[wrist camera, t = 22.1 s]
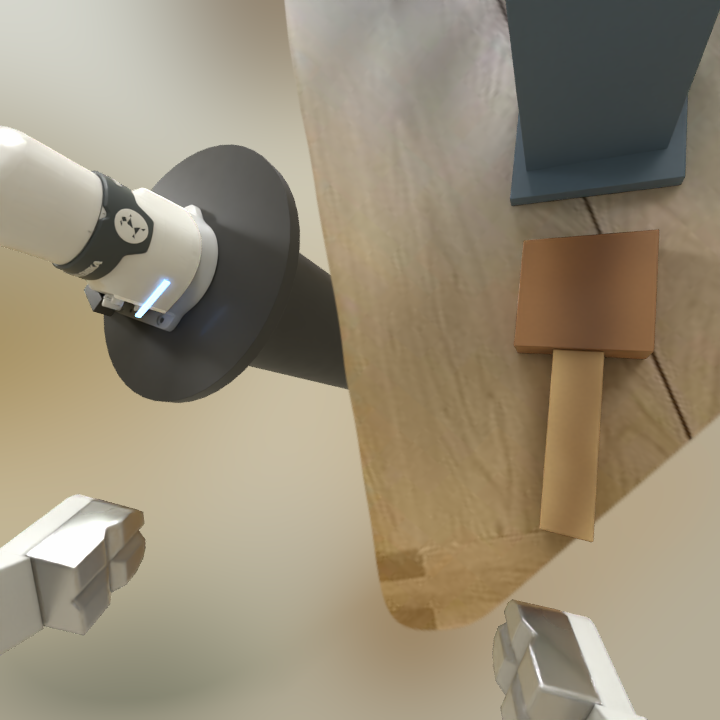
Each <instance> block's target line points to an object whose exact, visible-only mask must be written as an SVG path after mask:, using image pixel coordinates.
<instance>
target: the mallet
mask: <svg viewBox="0 0 720 720" xmlns="http://www.w3.org/2000/svg"><path fill="white" fill-rule="evenodd" d="M658 247H659V230H647V231H635V232H623V233H610V234H598V235H585V236H573V237H561V238H548V239H536V240H524V241H523V252H522V263H521V274H520V285H519V296H518V306H517V317H516V328H515V339H514V346H515V348H516V351H517V352H518V353H536V354H553V359H552V372H551V385H550V398H549V410H548V423H547V436H546V449H545V462H544V475H543V487H542V500H541V513H540V526H539V528H540V529H542V530H546V531H550V532H553V533H557V534H561V535H565V536H569V537H573V538H577V539H581V540H585V541H589V542H593V538H594V522H595V505H596V488H597V471H598V454H599V437H600V421H601V404H602V387H603V370H604V357H615V358H634V359H646V358H647V357H648V356H650V355H651V354H652V353H653V352H654V343H655V319H656V295H657V271H658Z"/></svg>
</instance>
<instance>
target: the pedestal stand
mask: <svg viewBox="0 0 720 720" xmlns="http://www.w3.org/2000/svg"><path fill="white" fill-rule="evenodd" d="M505 1H506V9H507V17H508V25H509V34H510V42H511V50H512V59H513V67H514V75H515V84H516V92H517V100H518V109H519V114H518V124H517V135H516V145H515V155H514V165H513V175H512V185H511V195H510V201H511V205H512V206H513V205H522V204H530V203H538V202H546V201H554V200H562V199H570V198H578V197H586V196H594V195H603V194H611V193H619V192H627V191H635V190H643V189H651V188H659V187H667V186H675V185H681V184H682V182H683V180H684V178H685V168H686V137H687V106H688V92H689V90H690V87H691V84H692V82H693V79H694V76H695V74H696V71H697V68H698V66H699V63H700V61H701V58H702V55H703V53H704V50H705V47H706V45H707V42H708V39H709V37H710V34H711V31H712V29H713V26H714V23H715V21H716V18H717V15H718V13H719V10H720V0H505Z"/></svg>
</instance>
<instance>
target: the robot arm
mask: <svg viewBox="0 0 720 720" xmlns="http://www.w3.org/2000/svg"><path fill="white" fill-rule="evenodd" d="M0 246H2V247H5V248H9V249H12V250H15V251H18V252H21V253H25V254H28V255H31V256H34V257H37V258H40V259H43V260H46V261H49V262H51V263H52V264H53V265H54V266H55V267H56V268H58V269H61V270H63V271H64V272H66V273H68V274H70V275H72V276H77V277H79V278H82V279H85V280H86V281H87V283H88V285H87V286H86V287H85V289H84V291H85V293H86V296H87V298H88V301H89V303H90V305H91V308H92V310H93V311H94V312H97V313H101V314H104V315H108V316H111V315H112V314H113V313H114V311H116V312H117V313H120V314H122V315H125V316H128V317H130V318H133V319H136V320H139V321H141V322H144V323H147V324H149V325H152V326H155V327H157V328H160V329H163V330H166V331H169V332H170V331H172V330H174V329H175V327H176V326H177V325H178V323H179V322H180V320H181V318H182V317H183V316H184V314H186V313H187V312H188V311H189V310H190V309H191V308H193V307H194V306H195V305H196V304H197V303H198V302H199V301H200V299H201V298H202V297H203V295H204V294H205V292H206V291H207V289H208V287H209V285H210V283H211V281H212V279H213V276H214V273H215V270H216V265H217V259H218V244H217V239H216V236H215V234H214V232H213V230H212V229H211V227H210V226H209V225H207V224H206V223H205V221H204V220H203V216H202V213H201V210H200V209H199V208H198V207H196V206H194V205H189V206H187V207H185V208H182V207H180V206H179V205H177V204H175V203H173V202H171V201H169V200H167V199H165V198H163V197H161V196H159V195H158V194H156V193H154V192H152V191H150V190H147V189H145V188H140V189H136V190H133V191H131V190H130V189H128V188H127V187H125V186H124V185H122V184H120V183H119V182H118V181H117V180H115V179H113V178H111V177H109V176H106V175H104V174H102V173H99V172H98V171H89V170H88V169H86V168H84V167H82V166H80V165H79V164H77V163H75V162H74V161H72V160H70V159H68V158H66V157H65V156H63V155H61V154H60V153H58V152H56V151H54V150H53V149H51V148H49V147H47V146H46V145H44V144H42V143H40V142H38V141H37V140H35V139H33V138H32V137H30V136H28V135H26V134H25V133H23V132H21V131H18V130H16V129H13V128H9V127H5V126H0ZM143 525H144V516H143V512H142V511H139V510H137V509H133V508H129V507H125V506H122V505H118V504H114V503H111V502H107V501H104V500H100V499H95V498H91V497H88V496H84V495H80V494H77V495H74V496H70V497H68V498H67V499H66V500H64V501H63V502H61V503H60V504H59V505H58V506H56V507H55V508H53V509H52V510H51V511H49V512H48V513H47V514H46V515H44V516H43V517H41V518H40V519H39V520H37V521H36V522H35V523H33V524H32V525H31V526H30V527H28V528H27V529H25V530H24V531H23V532H21V533H20V534H19V535H17V536H16V537H15V538H14V539H12V540H11V541H9V542H8V543H7V544H5V545H4V546H3V547H1V548H0V656H1V655H2V654H4V653H5V652H7V651H9V650H10V649H12V648H13V647H15V646H17V645H18V644H20V643H21V642H23V641H25V640H26V639H28V638H30V637H31V636H33V635H34V634H36V633H37V632H39V631H41V630H42V629H43V626H46V627H50V628H54V629H58V630H63V631H67V632H71V633H75V634H79V635H85V634H86V633H87V631H88V630H89V629H90V628H91V627H92V625H93V624H94V623H95V622H96V621H97V619H98V618H99V617H100V616H101V615H102V613H103V612H104V611H105V609H107V607H108V606H109V605H110V601H111V593H112V592H114V591H115V590H117V589H119V588H121V587H123V586H125V585H126V584H127V583H128V582H129V581H130V579H131V578H132V577H133V576H134V574H135V573H136V571H137V570H138V567H139V566H140V564H141V562H142V560H143V557H144V552H145V538H144V537H143V536H142V534H141V533H140V531H139V529H140V528H141V527H142V526H143ZM504 614H505V618H506V623H504V624H502V625H500V626H498V628H497V631H496V634H495V637H494V643H493V667H494V673H495V679H496V682H497V684H498V685H499V687H500V688H501V689H502V691H503V692H504V694H505V695H506V696H505V699H504V701H503V703H502V706H501V714H502V719H503V720H647V718H645V717H642V716H638V715H636V712H635V710H634V708H633V706H632V704H631V702H630V699H629V697H628V695H627V693H626V691H625V689H624V687H623V684H622V682H621V680H620V678H619V676H618V674H617V671H616V669H615V667H614V665H613V663H612V661H611V659H610V656H609V654H608V652H607V650H606V648H605V646H604V644H603V641H602V639H601V637H600V635H599V633H598V631H597V628H596V626H595V624H594V623H593V622H592V621H591V619H590V618H589V617H585V616H580V615H576V614H572V613H568V612H564V611H560V610H556V609H552V608H547V607H543V606H539V605H535V604H530V603H525V602H521V601H517V600H513V599H512V600H511V601H509V602H508V604H507V606H506V608H505V611H504Z"/></svg>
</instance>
